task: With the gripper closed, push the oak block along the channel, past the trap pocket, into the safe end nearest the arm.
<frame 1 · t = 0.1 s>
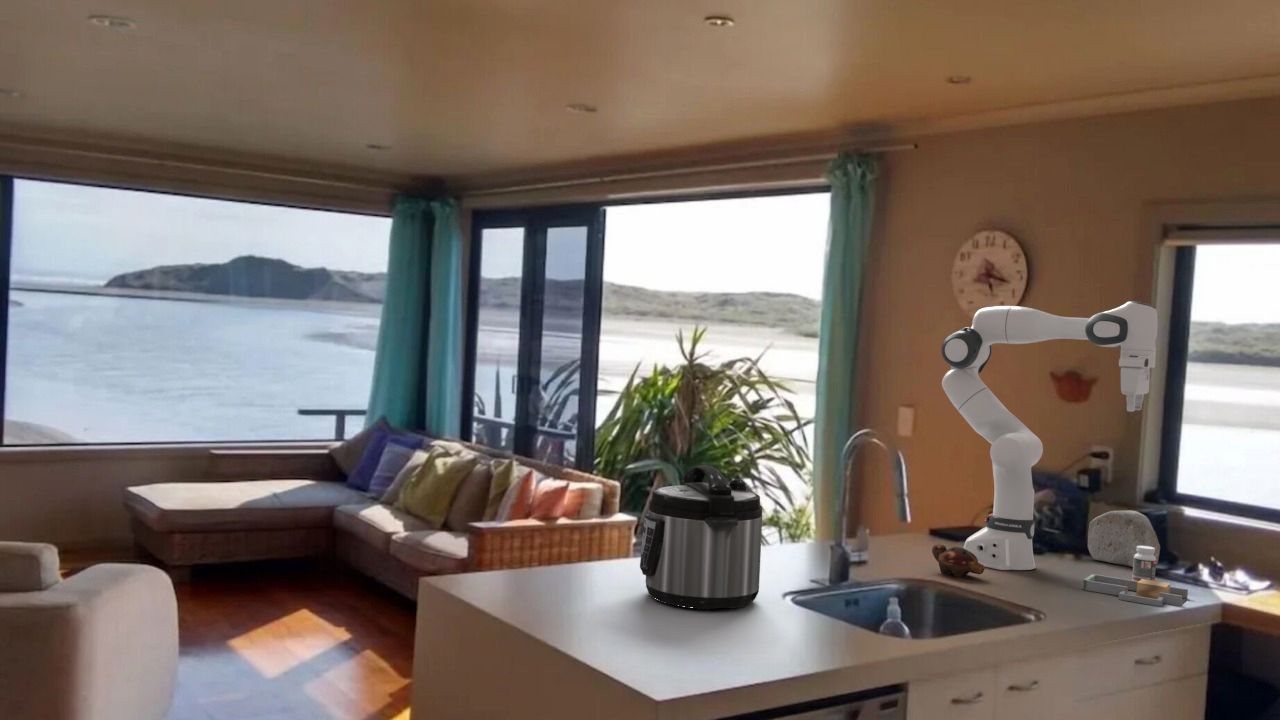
hand: (1134, 410, 312), 48 cm above the counter, fingers open, 8 cm apart
decorative stone: (1122, 564, 342), on the counter
decorative turtle: (956, 576, 313), on the counter
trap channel: (1134, 593, 301), on the counter
pressure cooker: (697, 599, 270), on the counter
pill bottle: (1143, 583, 317), on the counter
oak block: (1152, 598, 299), resting in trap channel
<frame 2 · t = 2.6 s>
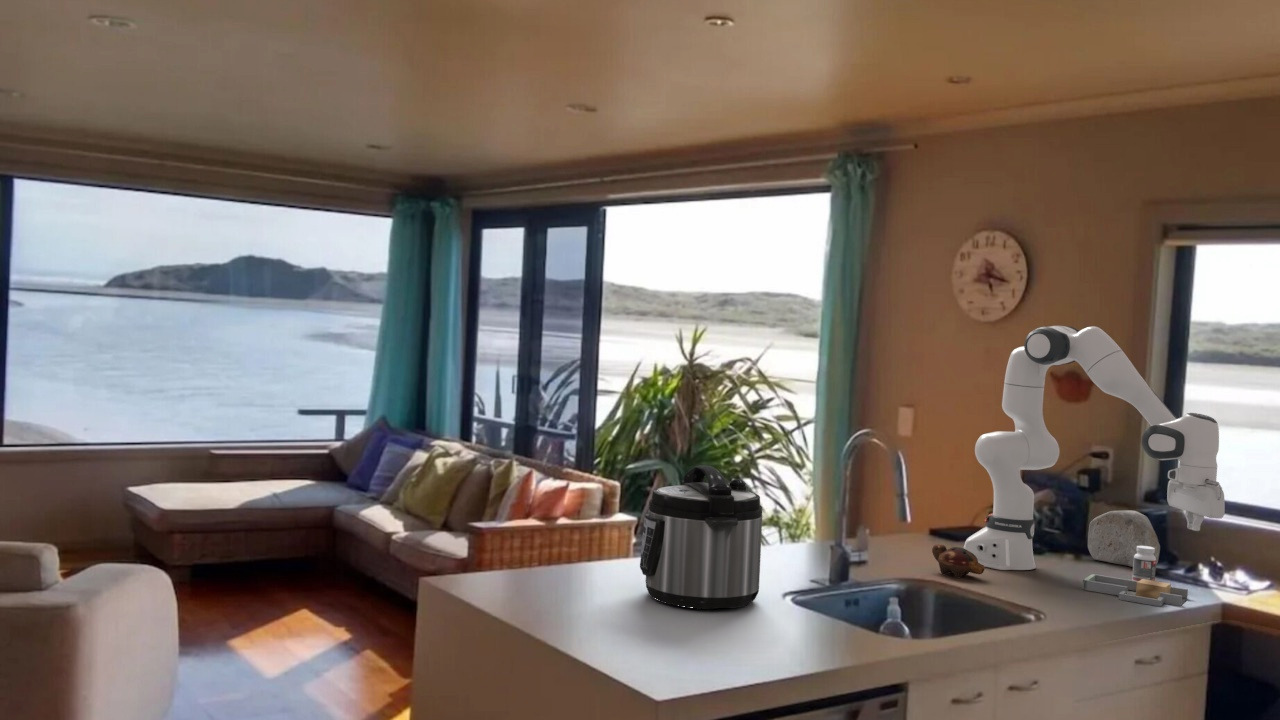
hand: (1193, 529, 294), 19 cm above the counter, fingers closed
nothing on the counter moved.
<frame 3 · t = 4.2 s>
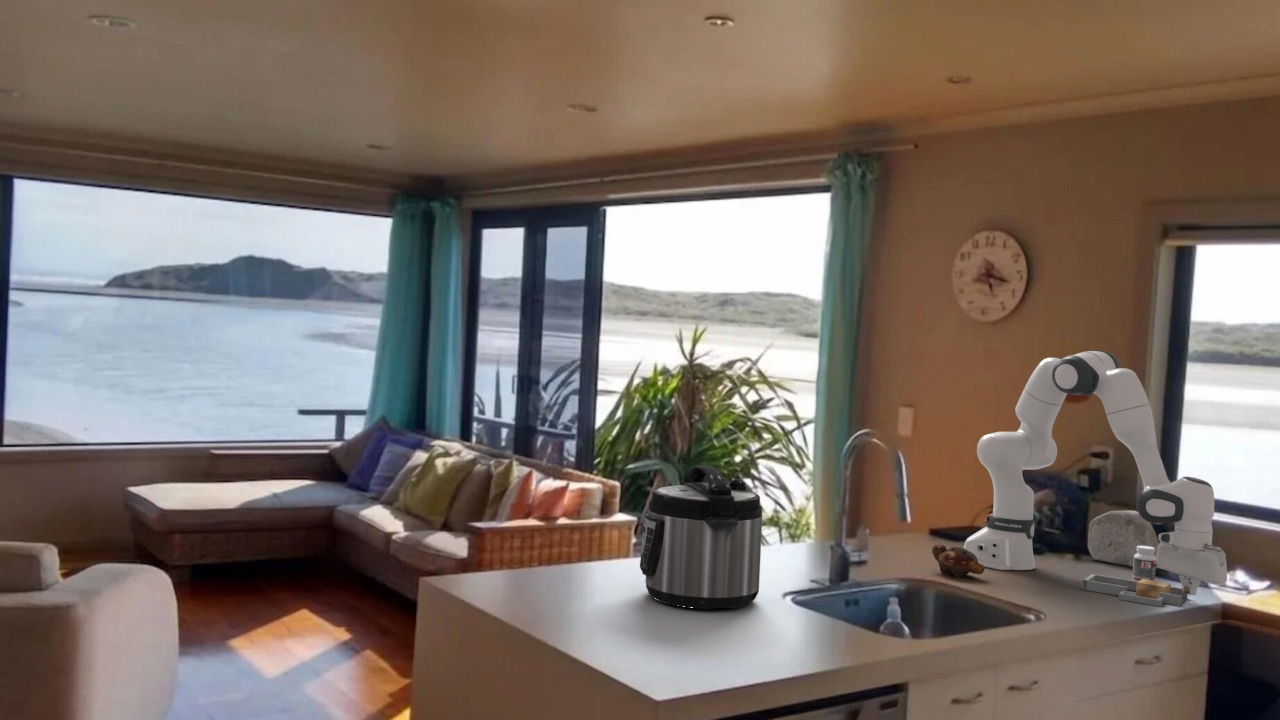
hand: (1189, 593, 294), 2 cm above the counter, fingers closed
nothing on the counter moved.
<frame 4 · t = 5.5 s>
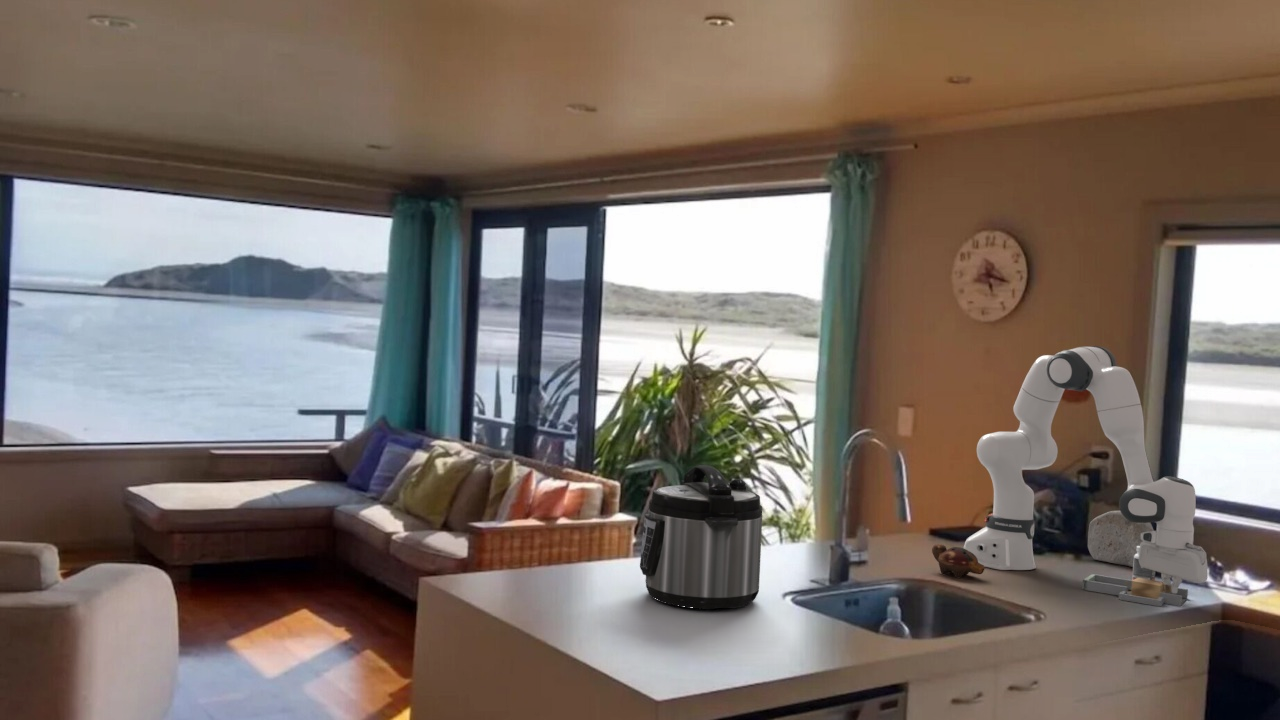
hand: (1170, 592, 297), 2 cm above the counter, fingers closed
oak block: (1147, 596, 299), resting in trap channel, touching gripper
everything else where it was.
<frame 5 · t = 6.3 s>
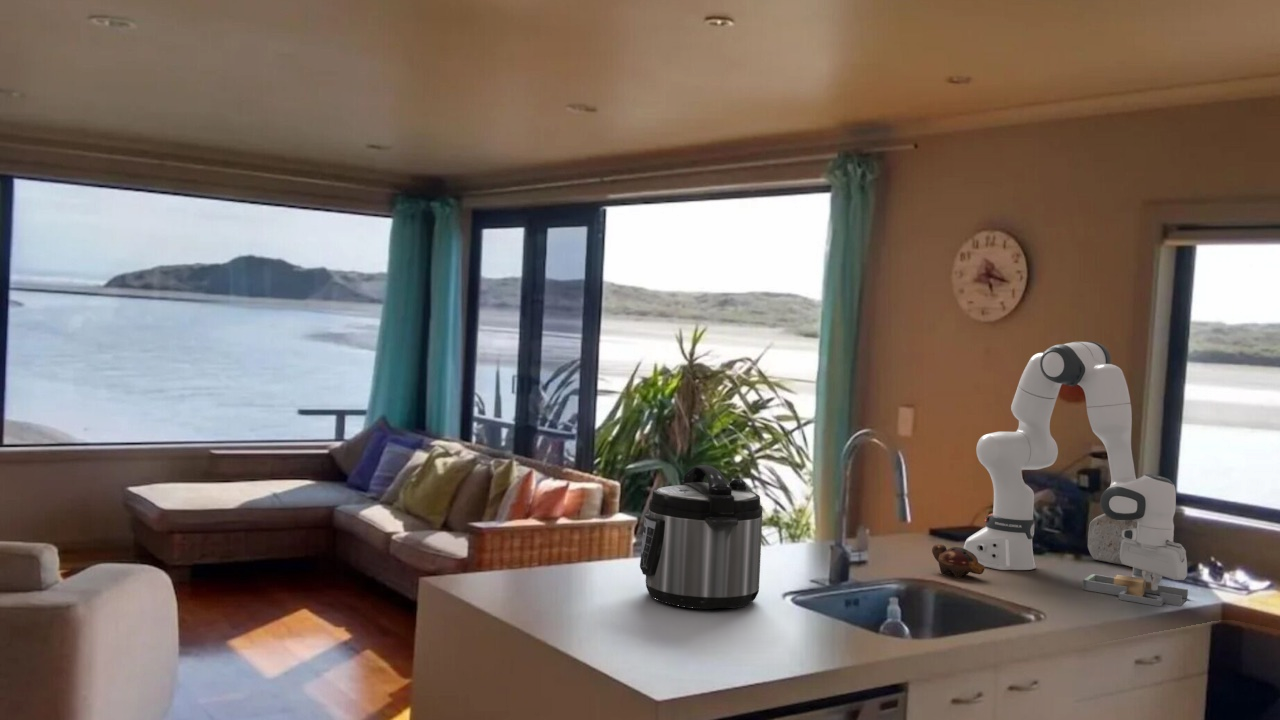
hand: (1151, 589, 299), 2 cm above the counter, fingers closed
oak block: (1128, 593, 302), resting in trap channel, touching gripper
everything else where it was.
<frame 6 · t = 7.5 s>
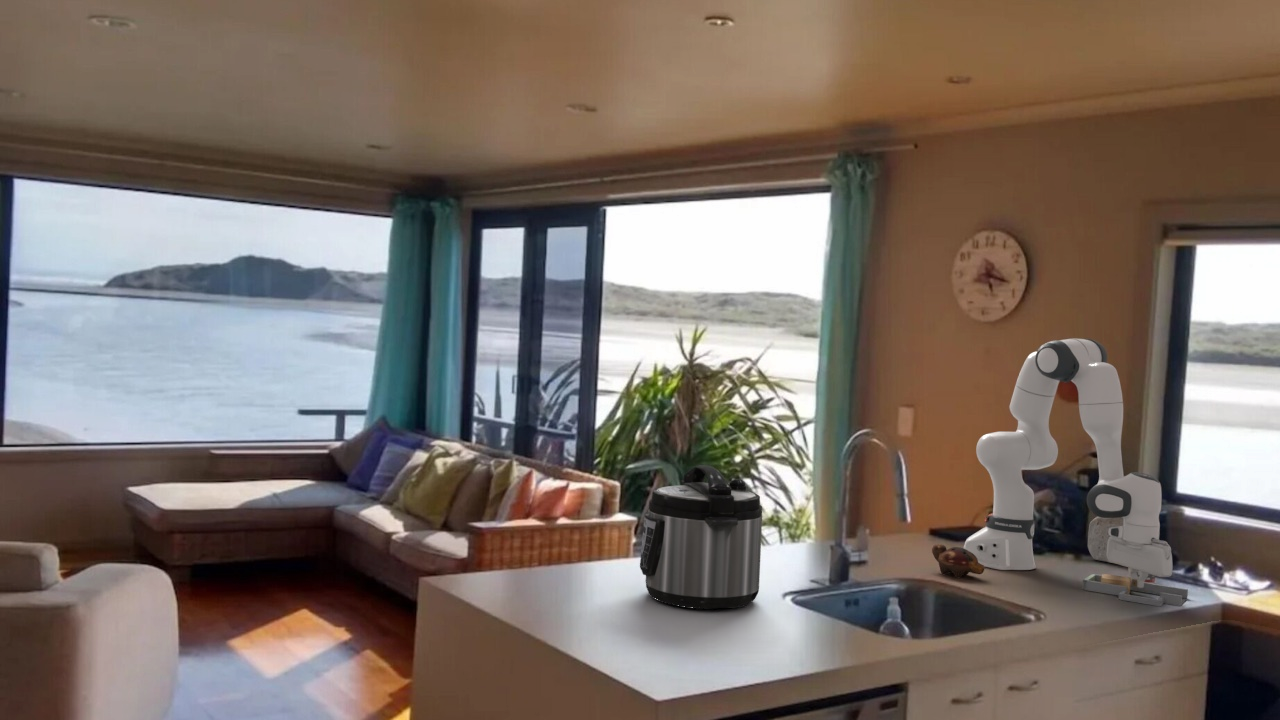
hand: (1137, 586, 301), 2 cm above the counter, fingers closed
oak block: (1115, 592, 303), resting in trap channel
everything else where it was.
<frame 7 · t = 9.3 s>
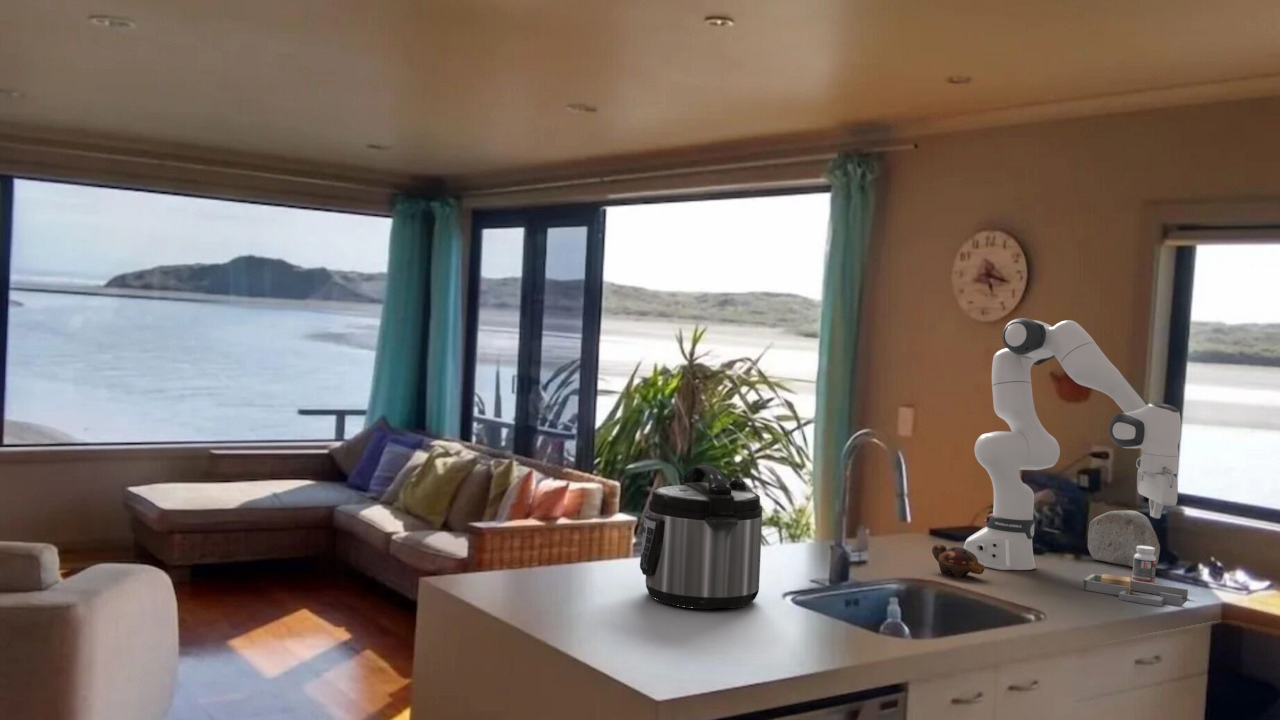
hand: (1155, 517, 299), 21 cm above the counter, fingers closed
nothing on the counter moved.
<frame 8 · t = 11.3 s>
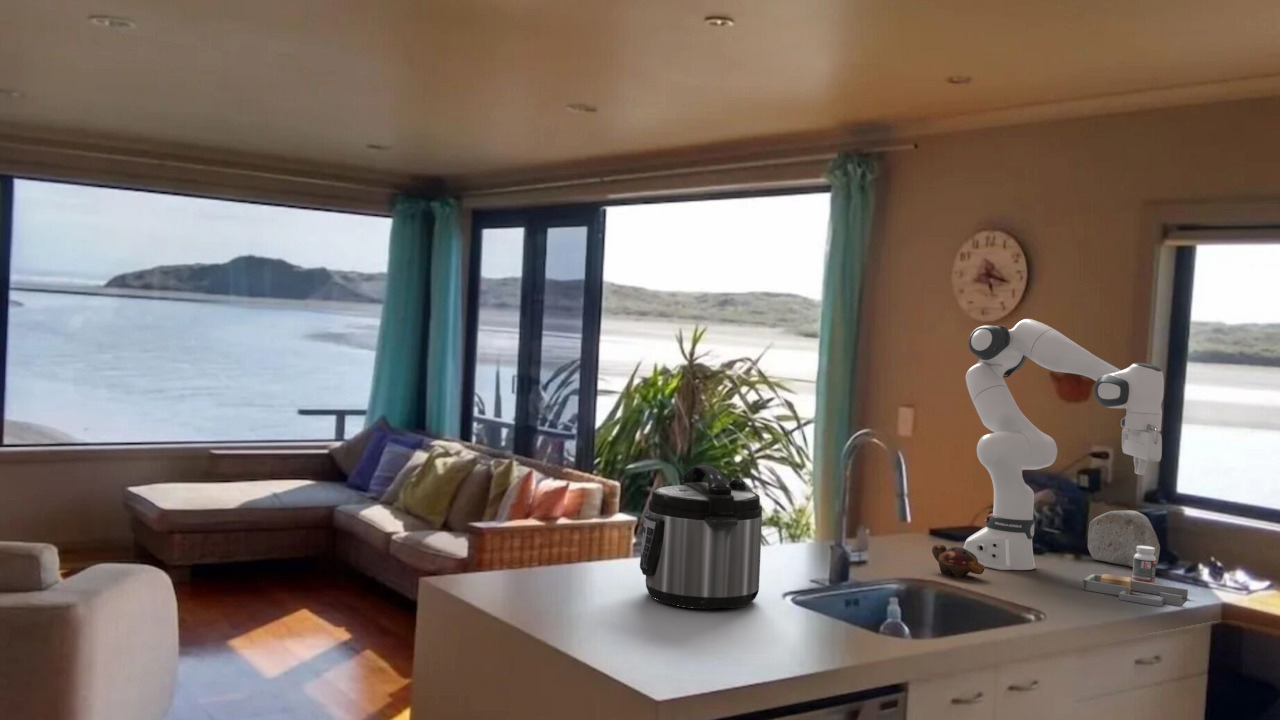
hand: (1139, 474, 307), 31 cm above the counter, fingers closed
nothing on the counter moved.
at the end: oak block 1.1 cm from the target spot, resting in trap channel; oak block tilted 0°; oak block moved 9.2 cm from its start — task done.
